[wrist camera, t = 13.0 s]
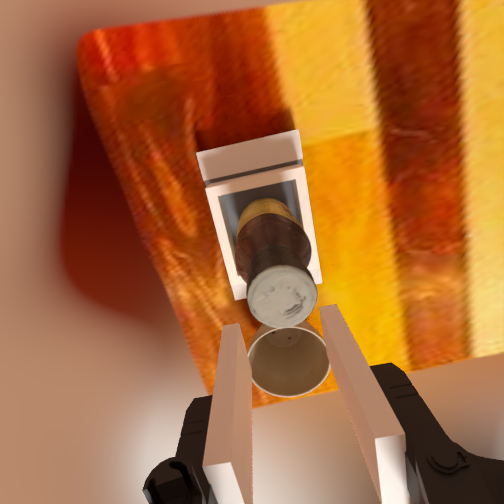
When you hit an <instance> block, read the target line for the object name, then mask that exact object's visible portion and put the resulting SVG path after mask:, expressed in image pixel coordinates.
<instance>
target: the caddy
mask: <svg viewBox="0 0 504 504" xmlns="http://www.w3.org/2000/svg"><path fill="white" fill-rule="evenodd" d="M196 154H197V158H198V162H199V166H200V169H201V173H202V177H203V181H205V184H206V188H205V190H206V193H207V197H208V201H209V205H210V209H211V212H212V216H213V220H214V224H215V227H216V231H217V235H218V239H219V242H220V246H221V250H222V254H223V258H224V261H225V265H226V269H227V273H228V276H229V280H230V284H231V286H232V290H233V294H234V298H235V300H239V299H244V298H247V296H246V286H247V283H246V282H245V281H244V280H243V279H242V278H241V276H240V274H239V272H238V271H237V267H236V262H235V243H236V237H237V231H238V225H239V220H240V216H241V214H242V212H243V210H244V209H245V208H246V207H247V206H248V205H249V204H250V203H251V202H253V201H255V200H258V199H261V198H272V199H276V200H278V201H280V202H282V203H283V204H285V205H286V206H287V207H288V208H289V209H290V211H291V212H292V214H293V215H294V217H295V218H296V220H297V221H298V222H299V224H300V225H301V227H302V228H303V229H304V231H305V233H306V234H307V236H308V238H309V240H310V244H311V249H312V254H311V260H310V263H309V265H308V267H307V269H308V270H309V271H310V273H311V274H312V277H313V279H314V282H315V284H320V283H322V277H321V271H320V264H319V259H318V253H317V246H316V240H315V233H314V227H313V220H312V214H311V208H310V201H309V195H308V188H307V182H306V175H305V169H304V166H303V162H302V159H303V155H302V148H301V142H300V136H299V129H297V130H292V131H288V132H284V133H279V134H275V135H271V136H266V137H262V138H258V139H253V140H249V141H245V142H240V143H236V144H232V145H227V146H223V147H219V148H214V149H210V150H206V151H202V152H197V153H196Z"/></svg>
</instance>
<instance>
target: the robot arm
mask: <svg viewBox="0 0 504 504" xmlns="http://www.w3.org/2000/svg"><path fill="white" fill-rule="evenodd" d="M319 308H320V314H321V320H322V326H323V332H324V338H325V344H326V351H327V356H328V359H329V362H330V365H331V367H332V370H333V373H334V376H335V379H336V381H337V384H338V387H339V390H340V392H341V395H342V398H343V400H344V403H345V406H346V409H347V411H348V414H349V417H350V420H351V422H352V425H353V428H354V431H355V434H356V436H357V439H358V442H359V445H360V447H361V450H362V453H363V456H364V459H365V461H366V464H367V467H368V470H369V472H370V475H371V478H372V480H373V483H374V486H375V489H376V492H377V494H378V497H379V500H380V503H381V504H410V496H411V498H412V500H413V502H414V504H504V461H502V460H496V459H489V458H484V457H480V456H476V455H474V454H471V453H469V452H467V451H466V450H465V449H463V448H462V447H461V446H460V445H458V444H457V443H454V442H453V441H451V440H450V438H449V437H448V436H447V435H446V434H445V432H444V430H443V429H442V428H441V426H440V425H439V423H438V422H437V420H436V419H435V417H434V416H433V414H432V413H431V411H430V410H429V408H428V407H427V405H426V404H425V402H424V401H423V399H422V398H421V396H419V394H418V392H417V390H416V389H415V388H414V386H413V385H412V383H411V381H410V380H409V379H408V377H407V376H406V374H405V372H404V371H402V370H401V369H400V368H398V367H397V366H396V365H394V364H393V363H386V364H380V365H374V366H369V365H368V363H367V361H366V359H365V357H364V355H363V354H362V352H361V350H360V348H359V346H358V344H357V342H356V340H355V339H354V337H353V335H352V333H351V331H350V329H349V327H348V325H347V324H346V322H345V320H344V318H343V316H342V314H341V312H340V310H339V309H338V307H337V305H336V304H334V305H329V306H324V307H319ZM252 489H253V487H252V370H251V366H250V362H249V358H248V355H247V351H246V347H245V343H244V340H243V336H242V332H241V328H240V325H239V323H235V324H230V325H225V326H223V329H222V336H221V343H220V350H219V356H218V363H217V370H216V377H215V384H214V391H213V395H211V396H205V397H199V398H194V400H193V401H192V403H191V404H190V406H189V407H188V409H187V410H186V414H185V418H184V422H183V427H182V431H181V437H180V439H179V443H178V447H177V452H176V456H175V457H172V458H168V459H166V460H164V461H163V462H161V463H159V465H157V466H156V467H155V468H154V469H153V470H152V471H151V473H150V474H149V476H148V477H147V479H146V481H145V484H144V487H143V490H142V491H143V493H144V494H145V497H146V499H147V501H148V502H149V504H253V497H252V496H253V491H252ZM409 494H410V496H409Z"/></svg>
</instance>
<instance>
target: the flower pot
mask: <svg viewBox="0 0 504 504" xmlns="http://www.w3.org/2000/svg"><path fill="white" fill-rule="evenodd" d="M273 333H274V334H273ZM290 337H291V338H290ZM247 355H248V358H249V362H250V366H251V370H252V381H253V383H254V384H255V385H256V386H257V387H258V388H260V389H261V390H263V391H264V392H266V393H269V394H271V395H274V396H279V397H296V396H301V395H304V394H307V393H309V392H311V391H313V390H314V389H316V388H317V387H318V386H319V385H321V384H322V382H323V381H324V380H325V379H326V377H327V375H328V374H329V371H330V368H331V365H330V362H329V359H328V356H327V351H326V344H325V340H324V339H323V338H322V336H321V335H320V334H319V332H318V331H317V330H316V329H315V328H314V327H313V326H312V325H310V324H309V323H308V322H307V321H305V320H304V321H303V322H301V323H299V324H298V325H295V326H292V327H289V328H273V327H270V326H268V325H265V324H264V323H263V324H262V325H261V326H260V327H259V329H258V330H257V332H256V333H255V335H254V337H253V339H252V341H251V343H250V346H249V349H248V353H247Z"/></svg>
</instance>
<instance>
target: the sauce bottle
mask: <svg viewBox="0 0 504 504" xmlns="http://www.w3.org/2000/svg"><path fill="white" fill-rule="evenodd" d="M311 254H312V249H311V244H310V240H309V238H308V236H307V234H306V233H305V231H304V229H303V228H302V227H301V225H300V224H299V222H298V221H297V220H296V218H295V217H294V215H293V214H292V212H291V211H290V209H289V208H288V207H287V206H286V205H285V204H283V203H282V202H280V201H278V200H276V199H272V198H261V199H258V200H255V201H253V202H251V203H250V204H249V205H248V206H247V207H246V208H245V209H244V210H243V212H242V214H241V216H240V220H239V225H238V231H237V237H236V243H235V262H236V267H237V271H238V272H239V274H240V276H241V278H242V279H243V280H244V281H245V282H246V283H247V286H246V296H247V303H248V306H249V309H250V311H251V313H252V314H253V316H254V317H255V318H256V319H257V320H258V321H260V322H261V323H264V324H265V325H268V326H270V327H273V328H289V327H292V326H295V325H298V324H299V323H301V322H303V321H304V320H305V319H306V318H307V317H308V316H309V315H310V313H311V312H312V310H313V309H314V307H315V304H316V301H317V288H316V284H315V282H314V279H313V277H312V274H311V273H310V271H309V270H308V269H307V267H308V265H309V263H310V260H311Z"/></svg>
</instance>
